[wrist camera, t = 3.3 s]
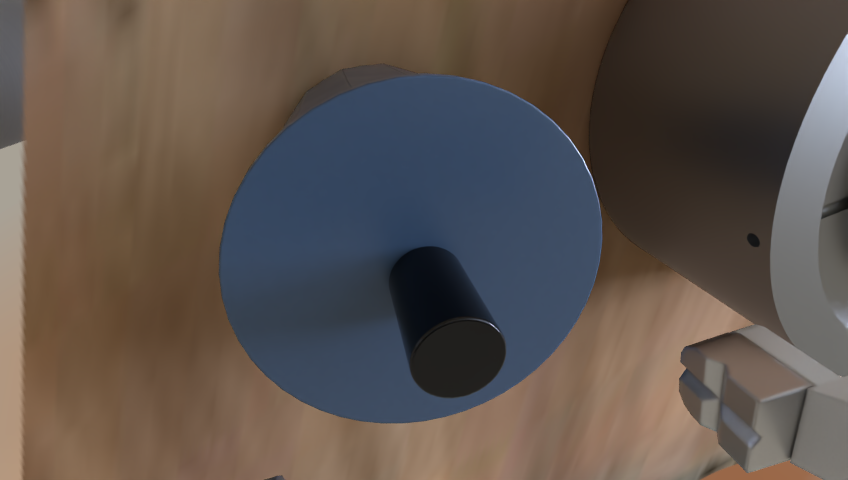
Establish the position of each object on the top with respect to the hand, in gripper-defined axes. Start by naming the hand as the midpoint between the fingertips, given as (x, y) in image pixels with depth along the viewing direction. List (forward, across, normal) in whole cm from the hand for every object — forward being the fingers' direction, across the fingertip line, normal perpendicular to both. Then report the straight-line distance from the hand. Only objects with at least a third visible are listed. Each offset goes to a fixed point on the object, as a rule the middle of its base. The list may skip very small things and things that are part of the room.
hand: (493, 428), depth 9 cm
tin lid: (+7, 0, 0) cm, 7 cm away
